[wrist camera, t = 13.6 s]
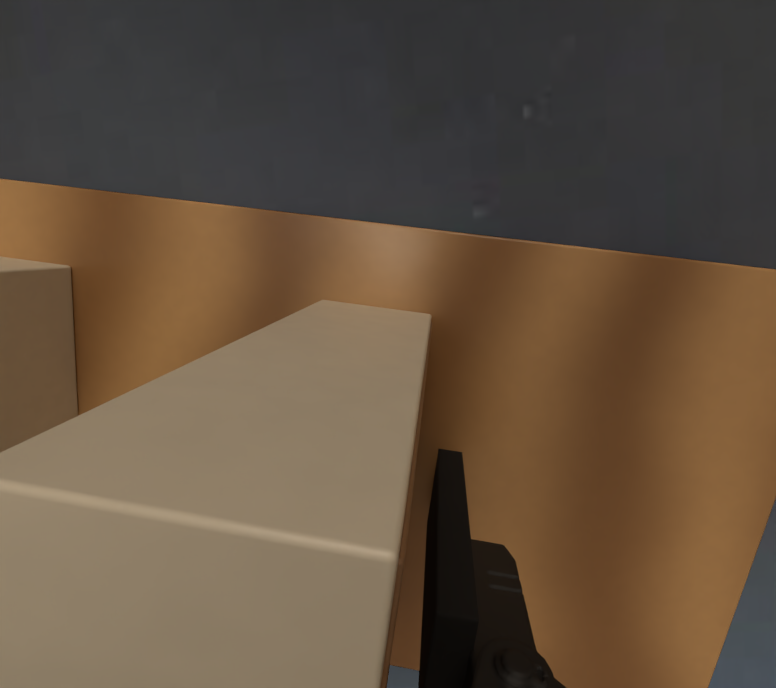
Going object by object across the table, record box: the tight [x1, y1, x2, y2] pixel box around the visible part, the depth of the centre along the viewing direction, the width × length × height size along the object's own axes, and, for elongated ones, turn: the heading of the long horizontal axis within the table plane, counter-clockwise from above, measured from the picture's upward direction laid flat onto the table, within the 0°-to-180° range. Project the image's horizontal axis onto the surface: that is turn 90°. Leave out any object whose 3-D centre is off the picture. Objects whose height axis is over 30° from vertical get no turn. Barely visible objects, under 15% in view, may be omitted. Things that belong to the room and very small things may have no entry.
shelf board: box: [0, 179, 776, 688], centre depth 16 cm, size 34×16×1 cm, turn 83°
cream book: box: [0, 300, 432, 688], centre depth 10 cm, size 4×11×11 cm, turn 173°
